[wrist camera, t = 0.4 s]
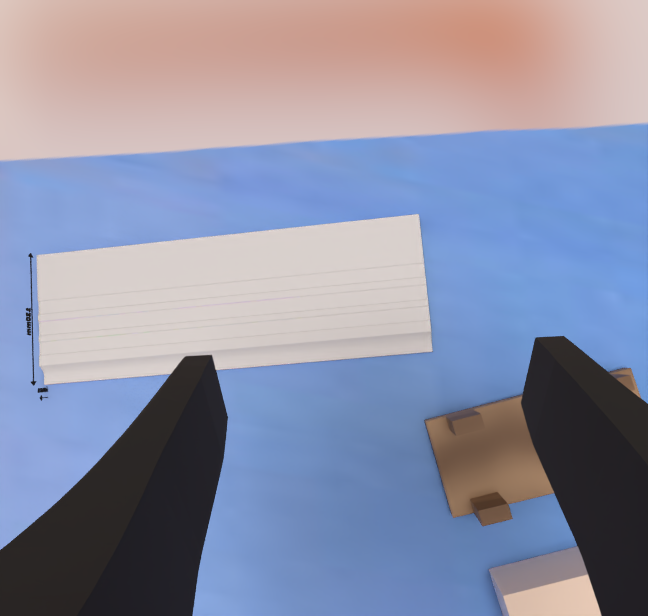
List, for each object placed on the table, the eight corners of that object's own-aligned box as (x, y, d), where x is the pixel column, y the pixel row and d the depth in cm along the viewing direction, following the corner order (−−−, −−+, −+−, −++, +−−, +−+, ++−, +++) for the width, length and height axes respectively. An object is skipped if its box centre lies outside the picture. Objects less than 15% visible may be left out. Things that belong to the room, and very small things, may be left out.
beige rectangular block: (669, 575, 36) (711, 605, 32) (503, 617, 37) (520, 652, 33) (652, 525, 37) (690, 548, 32) (487, 567, 38) (503, 595, 33)
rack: (656, 462, 37) (689, 475, 33) (451, 513, 38) (460, 531, 34) (624, 367, 38) (653, 369, 34) (424, 420, 39) (430, 427, 35)
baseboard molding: (433, 370, 40) (417, 219, 41) (437, 371, 37) (420, 208, 38) (51, 402, 42) (47, 258, 44) (27, 405, 40) (24, 251, 41)
